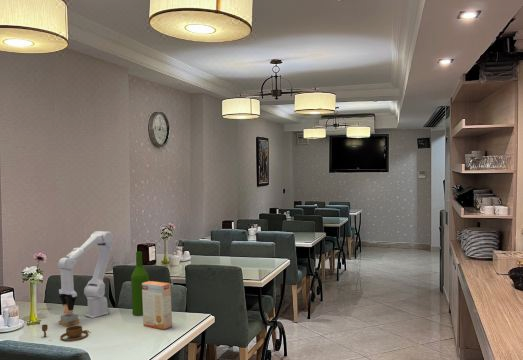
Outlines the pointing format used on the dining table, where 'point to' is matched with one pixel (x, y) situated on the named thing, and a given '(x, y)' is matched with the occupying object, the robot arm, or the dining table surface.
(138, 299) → the wine bottle
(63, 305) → the terracotta cylinder
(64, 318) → the slate block
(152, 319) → the cracker box
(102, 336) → the dining table surface
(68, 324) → the walnut block
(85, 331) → the place setting
